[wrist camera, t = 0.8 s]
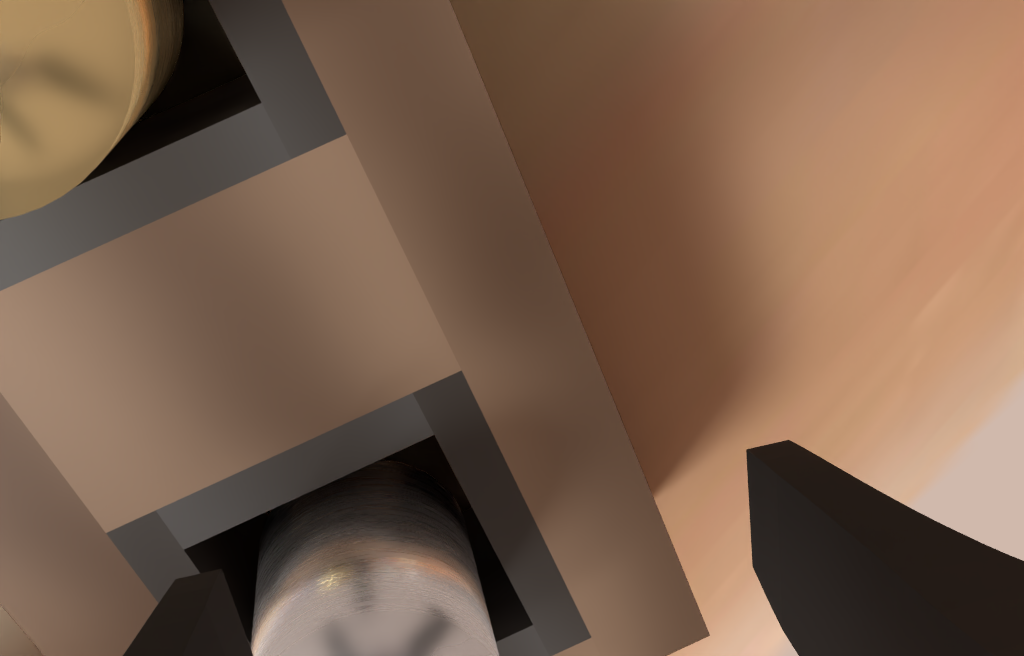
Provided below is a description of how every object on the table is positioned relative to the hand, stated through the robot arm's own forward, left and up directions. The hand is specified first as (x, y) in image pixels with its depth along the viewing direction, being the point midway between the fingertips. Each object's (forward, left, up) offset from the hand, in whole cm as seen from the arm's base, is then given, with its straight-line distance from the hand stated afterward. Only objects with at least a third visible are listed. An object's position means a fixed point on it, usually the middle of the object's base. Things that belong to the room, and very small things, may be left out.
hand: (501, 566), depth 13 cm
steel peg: (-3, -3, -7) cm, 8 cm away
